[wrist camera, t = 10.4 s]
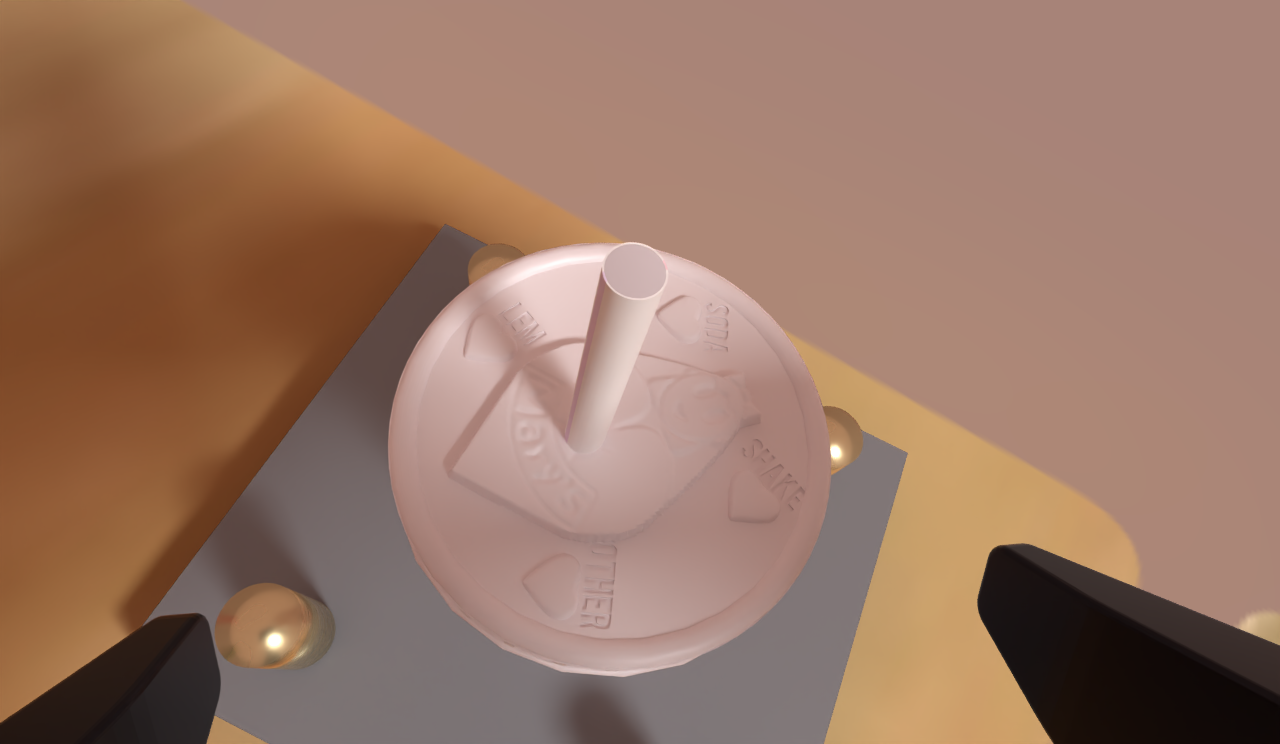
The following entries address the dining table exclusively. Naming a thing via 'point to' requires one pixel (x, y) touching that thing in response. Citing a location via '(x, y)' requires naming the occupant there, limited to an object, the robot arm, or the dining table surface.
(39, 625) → the dining table surface
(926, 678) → the dining table surface
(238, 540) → the plate
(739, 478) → the smoothie
